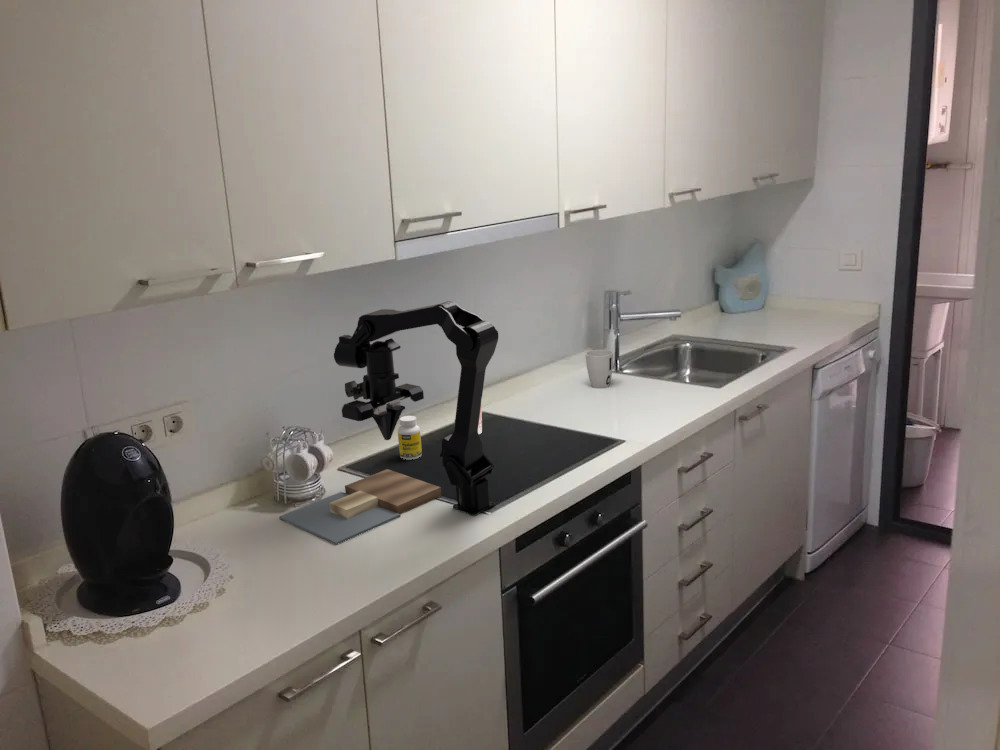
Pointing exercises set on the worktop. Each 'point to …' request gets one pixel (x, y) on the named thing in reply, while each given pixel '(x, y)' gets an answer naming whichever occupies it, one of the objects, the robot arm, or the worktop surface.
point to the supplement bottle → (409, 438)
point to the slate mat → (336, 520)
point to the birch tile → (353, 504)
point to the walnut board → (396, 490)
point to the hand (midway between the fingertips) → (387, 439)
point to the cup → (599, 367)
